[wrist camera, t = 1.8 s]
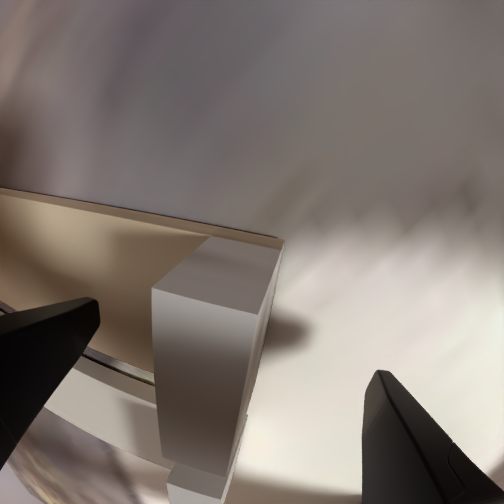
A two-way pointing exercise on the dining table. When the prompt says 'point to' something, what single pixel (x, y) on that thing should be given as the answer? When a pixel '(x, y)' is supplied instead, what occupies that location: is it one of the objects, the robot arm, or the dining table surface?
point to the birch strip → (154, 305)
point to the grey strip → (132, 426)
